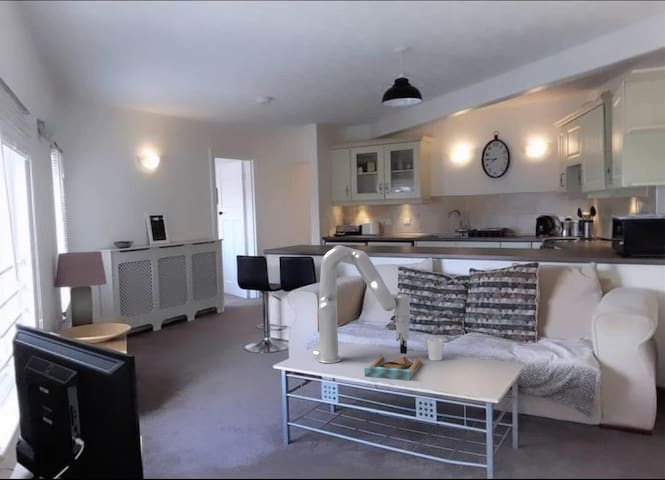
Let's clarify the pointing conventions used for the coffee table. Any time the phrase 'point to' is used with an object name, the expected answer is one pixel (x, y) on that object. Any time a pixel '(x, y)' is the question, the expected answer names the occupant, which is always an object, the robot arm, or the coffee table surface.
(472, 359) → the coffee table surface
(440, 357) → the white cup
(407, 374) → the teal open box
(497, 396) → the coffee table surface
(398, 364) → the brown elongated piece
